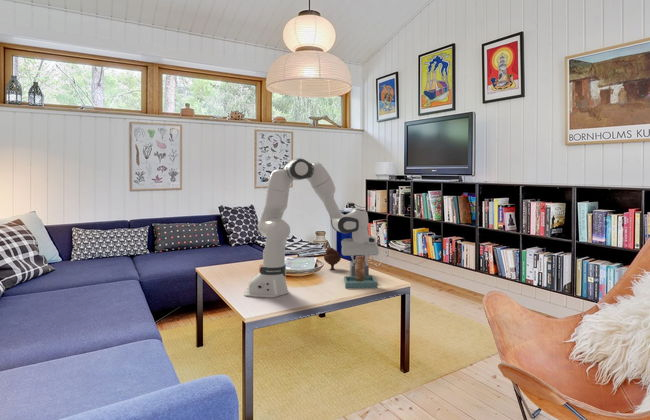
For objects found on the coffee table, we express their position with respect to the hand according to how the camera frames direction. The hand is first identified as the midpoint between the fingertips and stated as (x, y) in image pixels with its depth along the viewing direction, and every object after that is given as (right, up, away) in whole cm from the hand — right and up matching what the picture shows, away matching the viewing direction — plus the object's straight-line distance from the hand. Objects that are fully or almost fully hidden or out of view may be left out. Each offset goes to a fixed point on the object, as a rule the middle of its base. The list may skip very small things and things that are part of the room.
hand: (360, 263), depth 217 cm
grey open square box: (+1, -11, +16) cm, 19 cm away
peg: (0, -10, +1) cm, 10 cm away
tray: (0, -12, +1) cm, 12 cm away
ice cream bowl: (-15, -10, +32) cm, 37 cm away
